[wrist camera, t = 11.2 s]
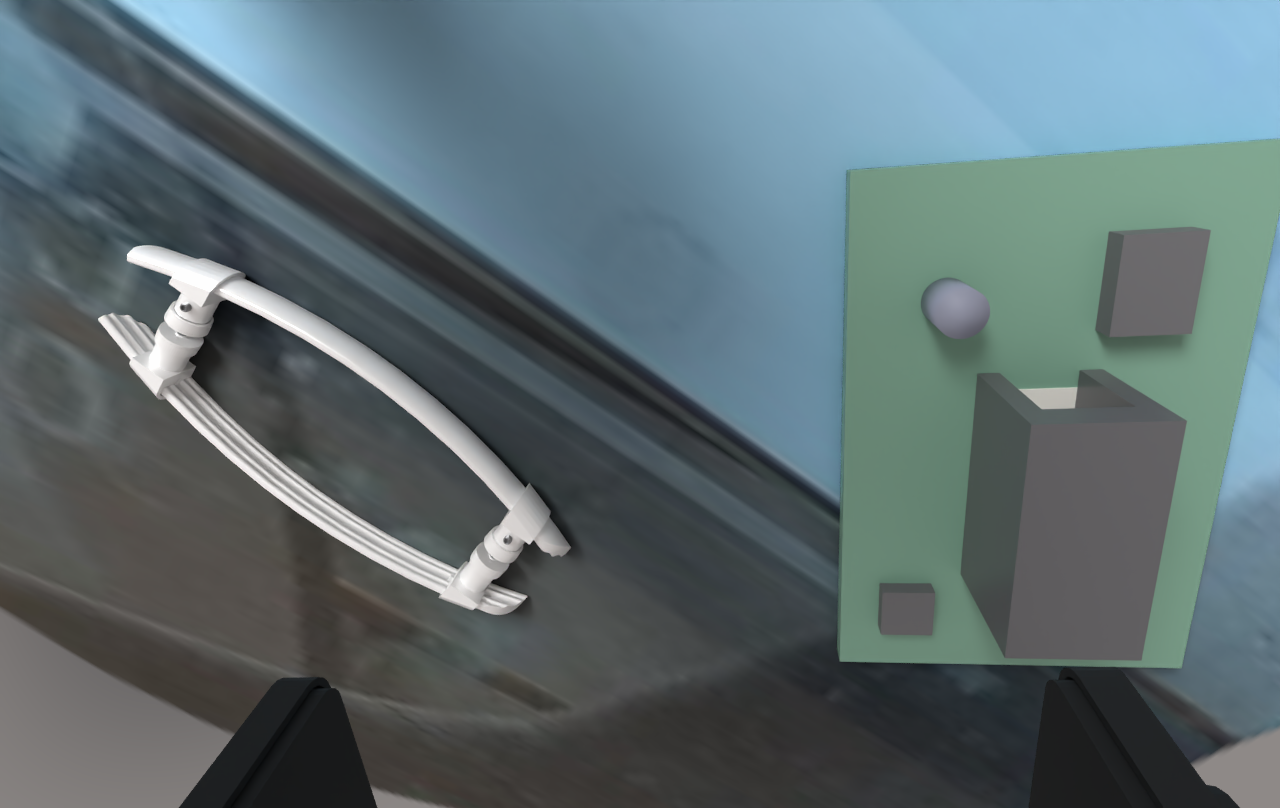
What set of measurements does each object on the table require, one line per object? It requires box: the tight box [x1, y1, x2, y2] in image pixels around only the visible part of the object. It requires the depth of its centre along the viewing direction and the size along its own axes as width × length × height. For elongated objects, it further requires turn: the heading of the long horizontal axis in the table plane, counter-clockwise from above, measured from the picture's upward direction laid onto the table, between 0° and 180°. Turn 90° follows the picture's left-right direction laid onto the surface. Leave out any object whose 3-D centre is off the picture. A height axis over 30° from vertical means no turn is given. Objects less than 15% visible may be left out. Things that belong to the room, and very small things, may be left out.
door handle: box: [98, 245, 571, 615], centre depth 36 cm, size 3×10×25 cm
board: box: [837, 139, 1280, 668], centre depth 31 cm, size 24×16×3 cm, turn 4°
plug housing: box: [960, 369, 1187, 661], centre depth 29 cm, size 10×5×6 cm, turn 4°
